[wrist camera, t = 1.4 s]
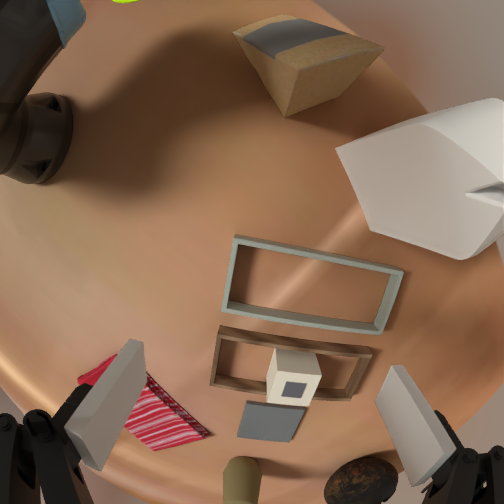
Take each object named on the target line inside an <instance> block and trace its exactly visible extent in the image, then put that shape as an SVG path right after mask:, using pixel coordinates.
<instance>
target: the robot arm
mask: <svg viewBox="0 0 504 504" xmlns="http://www.w3.org/2000/svg"><path fill="white" fill-rule="evenodd" d="M85 20H86V11H85V9H84V7H83V6H82V4H81V3H80V1H79V0H0V174H3V175H6V176H8V177H10V178H12V179H15V180H17V181H19V182H22V183H25V184H36V183H42V182H44V181H46V180H48V179H49V178H50V177H51V176H52V175H53V174H54V173H55V172H56V171H57V170H58V168H59V167H60V165H61V164H62V162H63V160H64V158H65V156H66V153H67V151H68V148H69V145H70V141H71V136H72V129H73V118H72V112H71V108H70V106H69V104H68V102H67V101H66V100H65V99H64V98H63V97H62V96H59V95H56V94H54V93H49V92H45V93H38V94H32V95H27V94H28V93H29V91H30V90H31V88H32V87H33V86H34V84H35V83H36V81H37V80H38V79H39V77H40V76H41V75H42V73H43V72H44V71H45V70H46V68H47V67H48V66H49V64H50V63H51V62H52V61H53V60H54V58H55V57H56V56H57V55H58V54H59V52H60V51H61V50H62V49H64V48H65V47H66V45H67V43H68V42H69V40H70V39H71V38H72V37H73V36H74V35H75V33H76V32H77V31H78V30H79V29H80V28H81V27H82V26H83V24H84V22H85ZM146 383H147V375H146V366H145V356H144V345H143V342H142V341H137V340H133V339H129V341H128V342H127V343H126V344H125V346H124V347H123V348H122V349H121V351H120V352H119V353H118V355H117V356H116V357H115V358H114V360H113V361H112V362H111V364H110V365H109V366H108V368H107V369H106V370H105V371H104V373H103V374H102V375H101V377H100V378H99V379H98V381H97V382H96V383H95V385H94V386H92V385H89V384H87V383H83V384H82V385H80V386H78V387H77V388H75V390H74V391H73V392H72V393H71V395H70V397H68V398H67V400H66V402H64V404H63V405H62V406H61V407H60V409H59V410H58V411H57V413H56V414H55V415H54V416H53V418H51V416H50V415H49V414H48V413H47V412H46V411H43V410H39V409H35V410H31V411H29V412H28V413H26V415H25V416H24V418H23V424H24V425H22V424H18V423H17V421H16V419H15V418H14V417H13V416H12V415H10V414H8V413H2V414H0V504H41V500H40V486H41V489H42V493H43V497H44V500H45V503H46V504H94V502H93V500H92V498H91V496H90V493H89V491H88V489H87V486H86V483H85V480H84V477H83V475H82V472H81V469H80V467H79V465H78V463H79V462H80V460H81V459H82V460H83V462H84V464H85V465H87V466H89V467H91V468H93V469H96V470H98V471H100V472H101V471H102V469H103V467H104V465H105V463H106V461H107V459H108V456H109V454H110V452H111V450H112V448H113V446H114V445H115V443H116V441H117V439H118V437H119V435H120V433H121V431H122V429H123V427H124V425H125V423H126V421H127V419H128V417H129V415H130V413H131V411H132V409H133V408H134V406H135V404H136V402H137V400H138V398H139V396H140V394H141V392H142V391H143V389H144V387H145V385H146ZM375 403H376V405H377V407H378V410H379V412H380V414H381V416H382V419H383V421H384V423H385V425H386V427H387V430H388V432H389V434H390V437H391V439H392V441H393V444H394V446H395V448H396V451H397V453H398V455H399V458H400V460H401V462H402V465H403V467H404V470H405V472H406V475H407V477H408V480H409V482H410V484H411V487H414V486H417V485H420V484H423V483H425V482H426V481H427V480H428V479H429V478H430V477H432V479H433V481H432V482H431V483H430V484H429V485H428V486H426V487H425V488H424V489H423V491H422V492H421V493H424V492H425V491H426V490H427V489H428V490H427V493H426V495H425V498H424V500H423V502H422V504H504V448H503V447H501V446H498V445H497V446H494V447H493V448H492V449H491V450H490V451H489V452H488V453H483V454H478V453H477V452H476V451H475V450H473V449H471V448H464V447H463V445H462V444H461V442H460V441H459V439H458V437H457V436H456V434H455V432H454V431H453V429H451V426H450V425H449V424H448V421H447V420H446V418H445V417H444V415H442V414H441V413H440V412H439V411H437V410H435V411H433V409H432V408H431V406H430V405H429V403H428V402H427V400H426V399H425V397H424V396H423V394H422V393H421V391H420V390H419V388H418V387H417V385H416V384H415V382H414V381H413V379H412V378H411V376H410V375H409V373H408V372H407V371H406V369H405V368H404V366H403V365H391V368H390V370H389V372H388V374H387V377H386V379H385V381H384V383H383V385H382V387H381V390H380V392H379V394H378V396H377V398H376V400H375ZM485 482H486V483H487V486H486V487H485V488H484V487H483V484H484V483H485Z"/></svg>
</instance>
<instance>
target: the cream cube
mask: <svg viewBox="0 0 504 504" xmlns="http://www.w3.org/2000/svg"><path fill="white" fill-rule="evenodd" d="M321 377H322V374H321V371H320V367H319V364H318V360H317V357H316V354H315V353H309V352H301V351H293V350H286V349H279V348H275V349H274V352H273V356H272V359H271V363H270V366H269V370H268V373H267V376H266V380H267V402H269V403H277V404H287V405H298V406H309V404H310V402H311V399H312V397H313V395H314V393H315V391H316V388H317V386H318V384H319V381H320V379H321Z"/></svg>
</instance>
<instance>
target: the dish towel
mask: <svg viewBox="0 0 504 504" xmlns="http://www.w3.org/2000/svg"><path fill="white" fill-rule="evenodd" d="M117 355H118V354H116V355H114V356H112V357H110V358H108V359H107V360H105V361H104V362H103V363H101V364H100V365H99V366H98V367H97V368H95V369H93V370H91V371H90V372H88V373H86V374H84V375H81V376H80V377H79V378H78V379H77V381H78V383H79V384H80V385H82V384H83V383H87V384H89V385H92V386H94V385H95V383H96V382H97V381H98V379H99V378H100V377H101V375H102V374H103V373H104V371H105V370H106V369H107V368H108V366H109V365H110V364H111V362H112V361H113V360H114V358H115V357H116V356H117ZM146 375H147V383H146V385H145V387H144V389H143V391H142V392H141V394H140V396H139V398H138V400H137V402H136V404H135V406H134V408H133V409H132V411H131V413H130V415H129V417H128V419H127V421H126V423H125V425H124V427H125V428H126V429H128V430H129V431H130V432H131V433H132V434H134V435H135V436H136V437H137V438H138V439H140V440H141V441H142V442H143V443H144V444H145V445H146V446H148V447H149V448H150V449H152V450H153V451H157V450H161V449H166V448H170V447H175V446H178V445H182V444H186V443H189V442H193V441H198V440H201V439H205V438H207V436H208V435H210V433H208V432H207V431H206V430H205V429H204V428H203V427H202V426H201V425H200V424H199V423H198V422H197V421H196V420H195V419H193V418H192V417H191V416H190V415H189V414H188V413H187V412H186V411H185V410H184V409H183V408H182V407H180V406H179V405H178V404H177V403H176V402H175V401H174V400H173V399H172V398H171V397H170V396H169V395H168V394H167V393H166V392H165V391H164V390H163V389H162V388H161V387H160V386H159V385H158V384H157V383H155V382H154V380H153V379H152V378H151V377H150V376H149V375H148V374H147V373H146Z"/></svg>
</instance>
